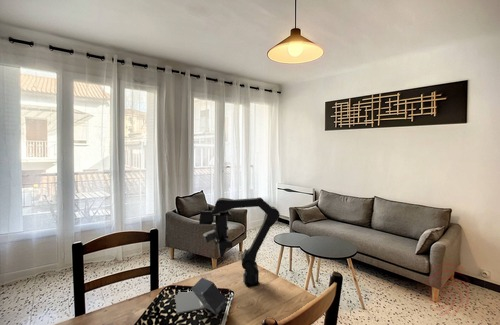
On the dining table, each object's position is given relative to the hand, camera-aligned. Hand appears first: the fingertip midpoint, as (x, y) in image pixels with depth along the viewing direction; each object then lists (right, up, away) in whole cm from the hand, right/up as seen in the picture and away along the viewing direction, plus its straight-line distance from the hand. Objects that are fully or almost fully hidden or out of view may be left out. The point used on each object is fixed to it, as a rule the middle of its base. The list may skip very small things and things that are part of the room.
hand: (221, 257), depth 125 cm
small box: (+1, -11, -23) cm, 25 cm away
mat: (-12, -13, -15) cm, 23 cm away
